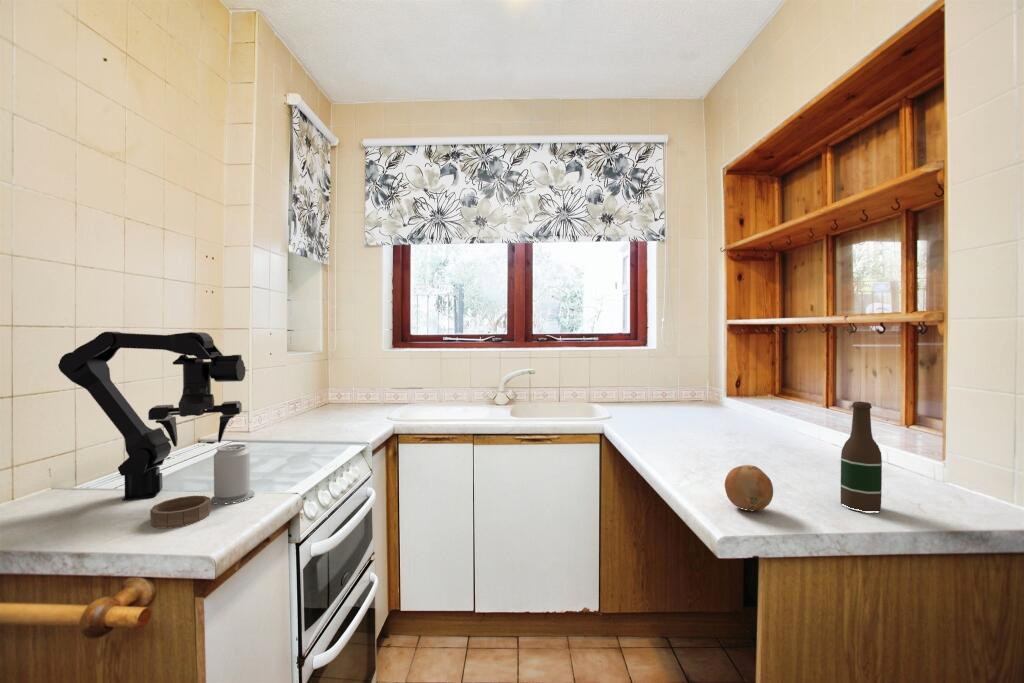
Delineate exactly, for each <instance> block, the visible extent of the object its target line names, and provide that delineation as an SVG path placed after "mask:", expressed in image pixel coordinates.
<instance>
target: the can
mask: <svg viewBox="0 0 1024 683" xmlns="http://www.w3.org/2000/svg"><path fill="white" fill-rule="evenodd" d="M247 447H248V445H247V444H244V443H238V444H237V443H235V444H225V445H222V446H219V447H217V448H216V452H215V453H214V454H213V496H216V497H217V498H218V499H220V500H231V499H237V498H240V497H243V496H245V495H246V494H247V493H248V492H249V491H250V490H251V451H250V450H249V449H248V448H247Z"/></svg>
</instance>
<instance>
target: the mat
mask: <svg viewBox="0 0 1024 683" xmlns="http://www.w3.org/2000/svg"><path fill="white" fill-rule="evenodd" d="M253 495H254V496H255V491H254V490H252V489H250V491H249V492H248V493H247V494H246V495H245V496H243V497H240V498H237V499H231V500H220V499H218V498H217V497H216V496H214V495H213V496H212V497H211V498H210V503H211V502H212V503H211V504H213V503H217V504H225V503H233V502H239V501H242V500H245V499H248V498H250V497H252V496H253ZM254 496H253V497H254ZM253 497H252V498H253ZM248 500H249V499H248ZM239 503H240V502H239ZM217 504H216V505H217Z"/></svg>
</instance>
